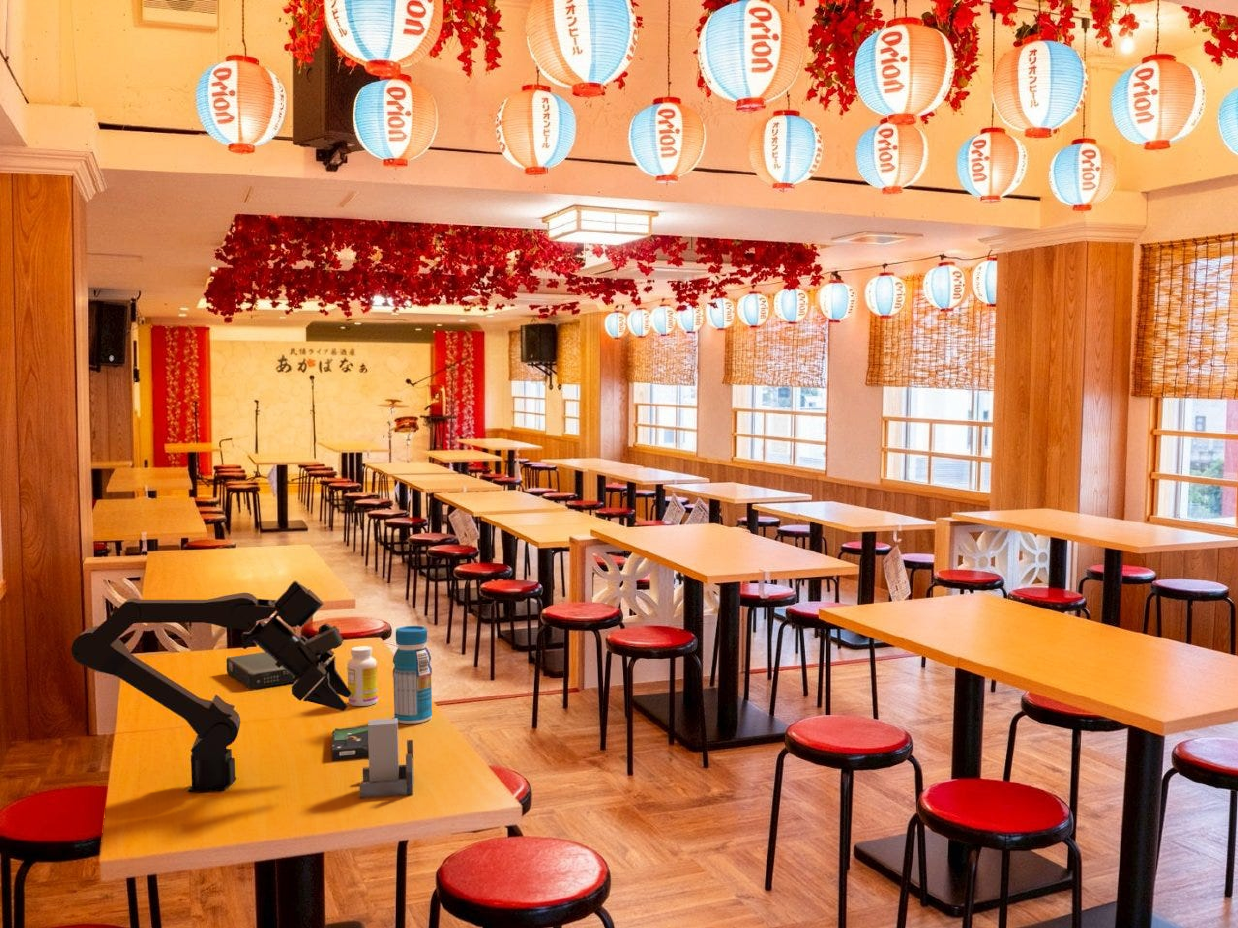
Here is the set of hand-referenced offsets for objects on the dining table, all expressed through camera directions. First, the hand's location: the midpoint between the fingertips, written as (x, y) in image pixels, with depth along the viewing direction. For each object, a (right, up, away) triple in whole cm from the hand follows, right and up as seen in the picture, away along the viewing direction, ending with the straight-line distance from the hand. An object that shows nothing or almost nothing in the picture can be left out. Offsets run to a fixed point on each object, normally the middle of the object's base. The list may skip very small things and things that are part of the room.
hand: (347, 701), depth 195 cm
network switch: (-37, -11, +76) cm, 86 cm away
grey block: (+8, -14, -7) cm, 17 cm away
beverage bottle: (+5, -12, +36) cm, 38 cm away
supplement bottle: (-9, -12, +49) cm, 52 cm away
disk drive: (-2, -14, +17) cm, 22 cm away
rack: (+8, -14, -7) cm, 17 cm away
